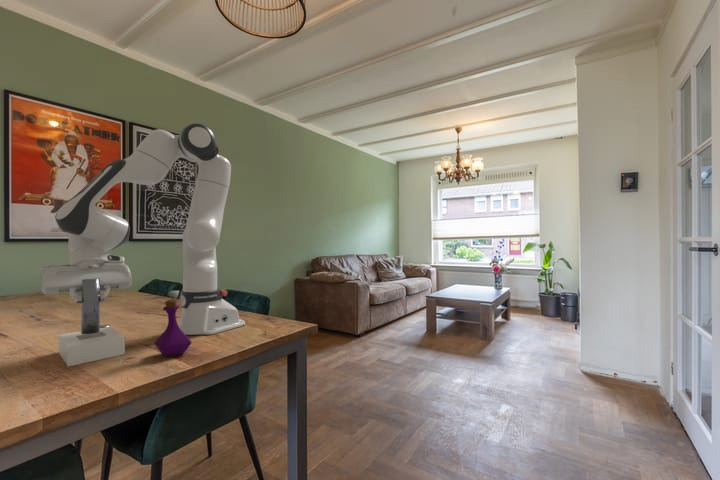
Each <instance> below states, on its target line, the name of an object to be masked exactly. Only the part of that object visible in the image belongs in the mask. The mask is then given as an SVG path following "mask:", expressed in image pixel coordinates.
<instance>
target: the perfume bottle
mask: <svg viewBox="0 0 720 480" xmlns="http://www.w3.org/2000/svg"><path fill="white" fill-rule="evenodd" d="M167 295H168V296H169V298H170V299H167V300H165V303H164V304H165V306H164V307H163V309H162V310H163V311H165V313H166V314H167V319H168V320H167V326H166V329H165V330H164V331H163V332H162V333H161V334H160V336H159V337H158V338H157V339H156V340H155V341H154V343H153V345H154V346H155V347H156V348H157V349H158V351H159V353H161V354H162V356H164V357H165V358H173V357H177V356H181V355H184V353H185V352H187V350H188V349H189V347H190V346H191V345H192V341H191V339H190V338H189V337H188V335H186V334H184V333H183V331H182V330H181V329H180V328H179V326H180V325H179V324H178V320H177V311H178V309H180V306H179V305H177V303H178V302H177V301H178V300H177V299H178V297H179V295H180V290H171V291H167ZM172 298H173V299H172Z"/></svg>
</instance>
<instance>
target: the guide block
mask: <svg viewBox="0 0 720 480" xmlns="http://www.w3.org/2000/svg"><path fill="white" fill-rule="evenodd" d="M125 339H126V336H125V335H123V334H122V333H121V332H119V331H117V330H116V329H115V328H113V327H112V326H111V327H105V328H99V332H97V333H93V334H81V330H80V331H75V332H68V333H61V334H58V354H59V355H60V357H61V359H62V360H63V361H64V363H65V365H66V366H67V367H72V366H77V365H81V364H85V363H90V362H95V361H99V360H100V361H101V360H104V359H109V358H114V357H118V356H119V357H120V356H123V355H124V356H125V354H126V353H125V350H126V348H125V347H126V345H125V344H126V341H125Z"/></svg>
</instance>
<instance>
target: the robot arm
mask: <svg viewBox="0 0 720 480" xmlns="http://www.w3.org/2000/svg"><path fill="white" fill-rule="evenodd" d="M219 153H220V149H219V147H218V143H217V140H216V137H215V135H214V132H213V131H212V130H211V129H210V128H209V127H208V126H206V124H205V125H204V124H202V123H196V122H195V123H191V124H189V125H186V126H185V127H184V128H183V129H182V131H181V133H180V134H173V133H171V132H169V131H168V130H164V129H161V128H158V129H154V130H152V131H151V132H150V133H149V134H148V135H147V136H145V138H144V139H143V140H142V141H141V142H140V143H139V144H138V146H137V147H136V148H135V150H134V151H133V152H132V153H131V155H130V156H128V157H125V158H124V159H119V158H118V159H115V160H113V161H111V162H109V163H108V164H107V165H106V166H105V167H104V168H103V169H102V170H100V171H99V172H98V173H97V174H96V175H95V176H94V177H93V178H92V179H91V180H90V181H89V182H88V183H87V184H86V185H85V186H83V188H82V189H81V190H80V191H78V193H76V194H75V195H74V196H73V197H72V198H70V199H68V200H67V201H66V202H65V203H64V204H63V205H61V206H60V208H58V210H57V211H56V213H55V215H54V216H55V217H54V218H55V221H56V224H57V226H58V228H59V229H60V231H62V232H64V233H68V234H69V235H68V251H69V256H68V264H58V265H57V264H56V265H54V264H51V265H48V266H46V267H45V266H44V267H42V268H41V269H40V277H41V278H42V282H41V292H42V293H43V294H44V295H46V296H47V295H48V296H49V295H59V294H61V295H62V294H68V296H70V297H71V299H73V300H74V304H75V305H76V304H82V294H78V293H82V280H83V279H100V303H101V302H107V297H108V294H109V293H110V291H112V290H113V291H115V290H125V289H126V290H127V289H130V287H131V286H132V283H133V277H132V272H131V270H130V267H129V266H128V264H126V263H125V257H124V256H121V255H115V254H111V253H107V252H110V251H113V250H115V249H116V248H117V249H118V248H120V247H121V246H122V245H124V244H125V243H126V242H128V240H129V237H130V232H131V227H130V223H129V222H128V220H127V219H124V218H123V217H120V216H118V215H116V214H115V213H111V212H109V211H107V210H104V209H102V208H100V207H98V206H96V204H97V203H98V202H99V201H100V200H101V199H102V197H104V196H105V195H106V194H107V193H108V191H109V190H110V189H111V188H112V187H114V186H115V185H117V184H120V183H132V184H136V185H142V186H143V185H144V186H151V185H157V184H160V183H161V182H162V181H163V180H164V179H165V177H166V176H167V175H168V173H169V172H170V170H171V169H172V166H173V165H174V164H175V162H176V161H177V160H179V161H184V162H187V163H188V164H189V163H190V164H197V167H198V172H197V177H196V180H195V185H194V187H193V189H194V190H193V193H192V197H191V203H190V206H189V211H188V216H187V221H186V226H185V228H184V229H183V232H182V261H183V262H182V265H183V266H182V269H183V271H182V273H183V274H182V277H183V278H182V279H183V281H182V282H183V284H182V287H183V289H182V291H181V297H180V299H181V301H180V302H181V307H182V308H181V317H180V322H179V325H178V326H179V328H180V329H181V330H182V331H183V333H184V334H185V335H186V336H188V335H190V336H191V335H194V336H195V335H215V334H218V333H222V332H225V331H229V330H234V329H235V328H240V327H244V326H245V325H246V322H245V320H243V319H241V318H240V315H239V312H238V309H237V308H236V307H235V306H234V305H232V304H231V303H229V302H228V301H226V300H225V299H223V296H224V297H227V290H225V289H222V290H221V289H218V262H217V250H216V249H217V245H218V244H219V242H220V237H221V231H222V226H223V225H222V224H223V219H224V214H225V213H224V212H225V206H226V202H227V198H228V193H229V189H230V186H231V185H230V184H231V179H232V178H231V177H232V175H231V174H232V164H231V162H230V161H229V160H228V159H227V158H226V157H224V156H223V155H220V154H219ZM101 292H102V293H101ZM243 325H244V326H243Z"/></svg>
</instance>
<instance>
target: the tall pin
mask: <svg viewBox="0 0 720 480" xmlns="http://www.w3.org/2000/svg"><path fill="white" fill-rule="evenodd" d="M100 294H101V291H100V279H83V280H82V292H81V295H82V303H81V315H80V317H81V318H80V319H81V321H80V331H81V334H93V333H97V332H99V325H101V324H100V321H101V319H100V314H101V313H100V310H101V307H100V306H101V302H100Z"/></svg>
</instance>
